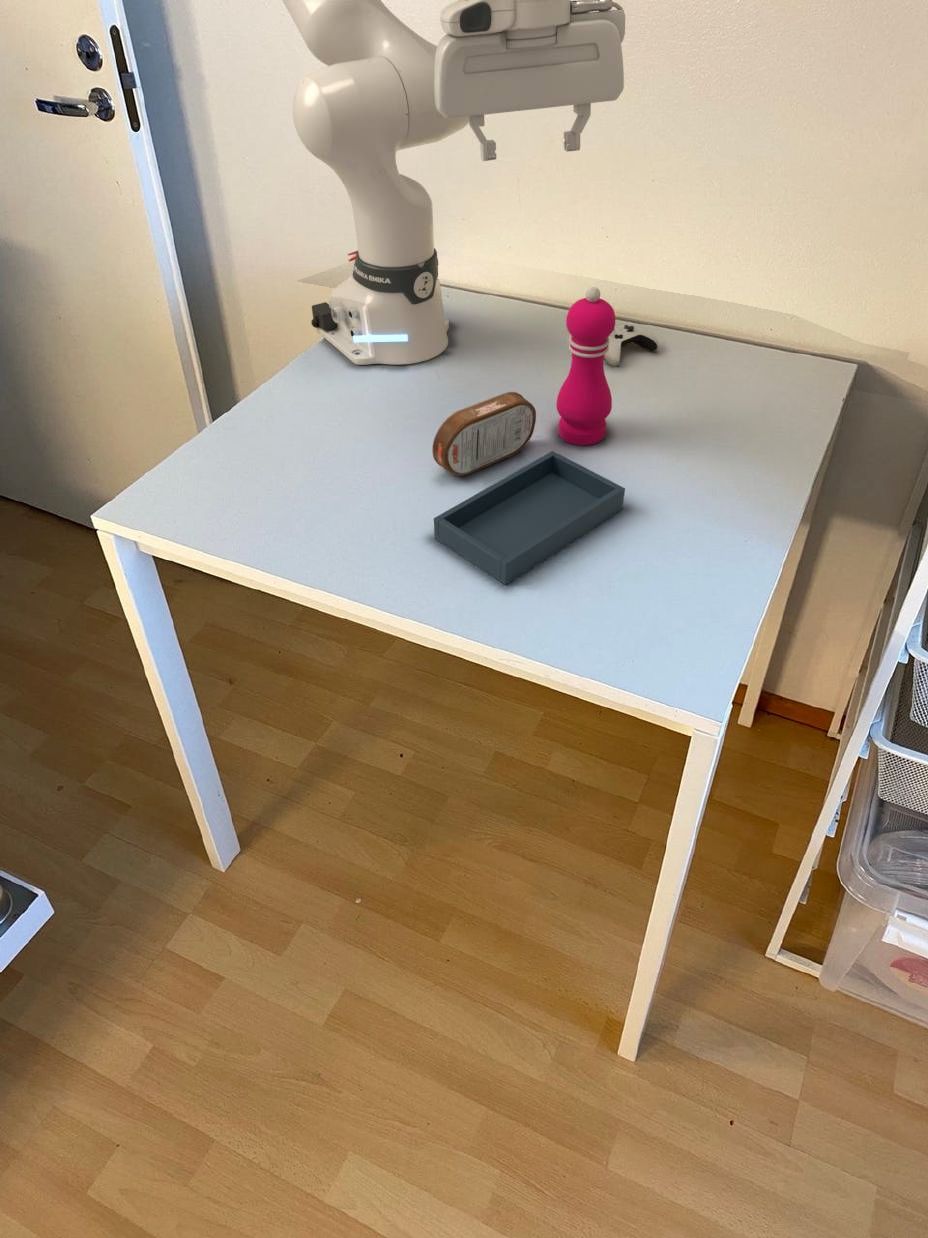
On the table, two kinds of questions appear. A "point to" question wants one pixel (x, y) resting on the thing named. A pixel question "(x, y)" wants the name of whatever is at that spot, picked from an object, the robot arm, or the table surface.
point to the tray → (528, 516)
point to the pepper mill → (586, 371)
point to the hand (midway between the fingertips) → (530, 154)
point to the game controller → (625, 336)
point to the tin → (484, 433)
